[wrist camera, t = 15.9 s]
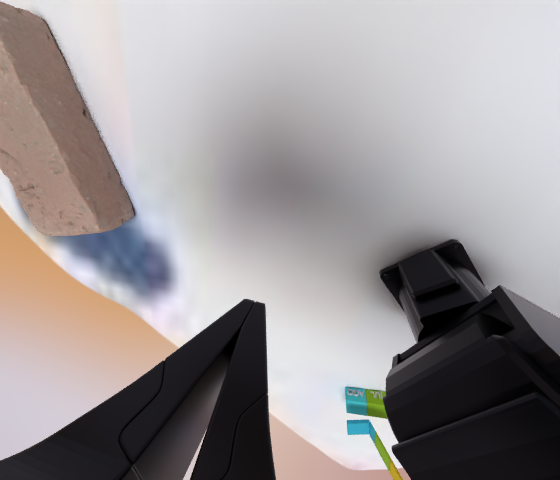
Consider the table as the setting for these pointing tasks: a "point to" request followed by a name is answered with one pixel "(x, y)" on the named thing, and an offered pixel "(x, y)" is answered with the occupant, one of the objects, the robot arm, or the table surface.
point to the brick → (52, 136)
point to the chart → (369, 406)
